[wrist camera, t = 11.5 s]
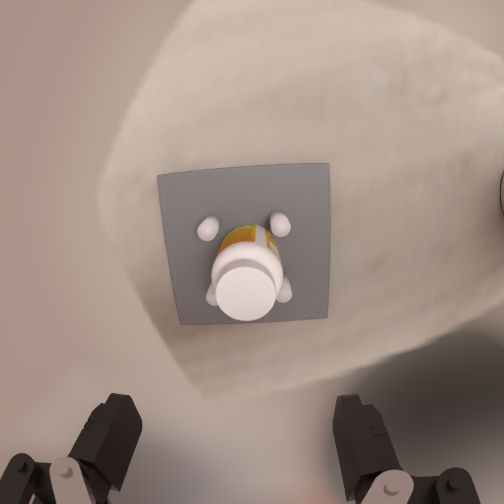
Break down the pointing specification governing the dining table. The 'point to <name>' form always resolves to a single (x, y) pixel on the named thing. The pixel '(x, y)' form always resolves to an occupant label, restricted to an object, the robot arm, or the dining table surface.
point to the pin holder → (248, 212)
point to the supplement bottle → (247, 272)
